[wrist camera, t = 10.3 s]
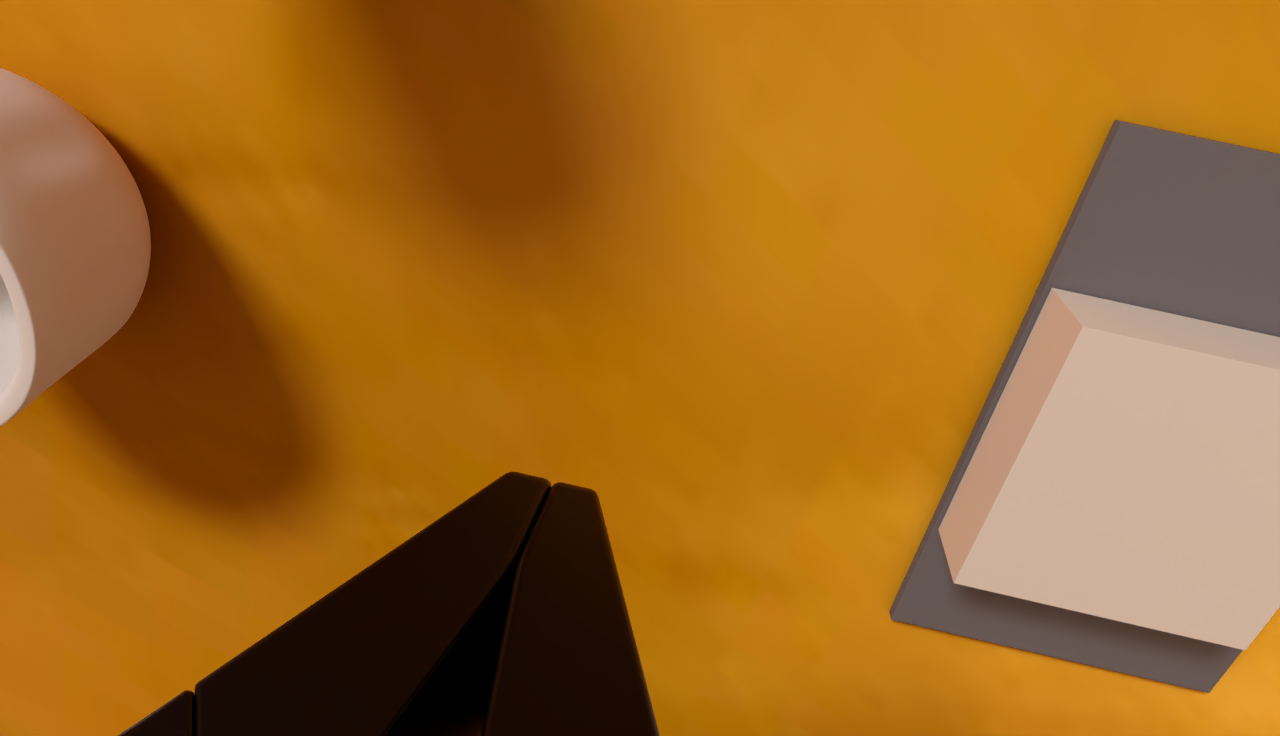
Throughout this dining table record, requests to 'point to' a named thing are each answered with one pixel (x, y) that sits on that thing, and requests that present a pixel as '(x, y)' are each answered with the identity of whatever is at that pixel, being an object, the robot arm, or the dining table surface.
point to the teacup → (61, 241)
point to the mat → (1150, 278)
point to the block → (1130, 473)
